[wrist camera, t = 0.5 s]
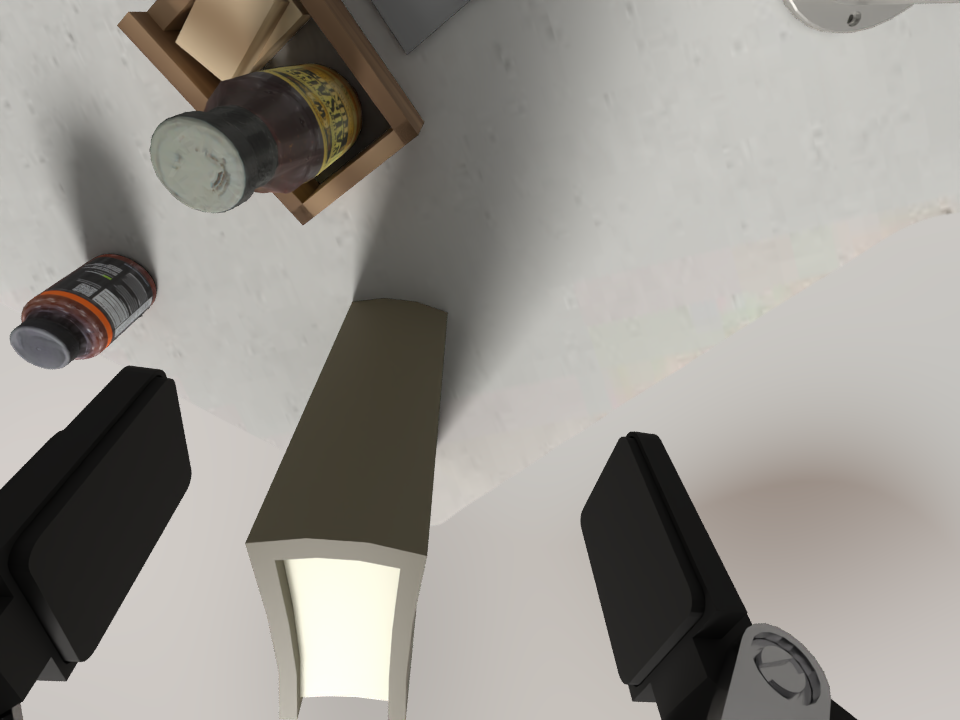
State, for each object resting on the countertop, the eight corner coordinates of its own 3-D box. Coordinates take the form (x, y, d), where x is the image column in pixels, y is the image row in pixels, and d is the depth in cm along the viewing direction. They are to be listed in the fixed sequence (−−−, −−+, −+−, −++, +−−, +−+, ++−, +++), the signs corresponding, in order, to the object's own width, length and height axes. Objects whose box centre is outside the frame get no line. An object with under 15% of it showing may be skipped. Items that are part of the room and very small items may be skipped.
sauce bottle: (380, 133, 38) (311, 221, 22) (313, 164, 39) (201, 269, 23) (335, 40, 34) (214, 64, 18) (263, 78, 36) (89, 131, 19)
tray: (271, -102, 30) (239, -120, 26) (424, 122, 37) (418, 134, 33) (160, 23, 34) (117, 25, 30) (319, 204, 41) (303, 225, 37)
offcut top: (240, -45, 29) (220, -51, 27) (289, 2, 31) (274, 1, 28) (197, 40, 32) (175, 42, 29) (245, 80, 33) (227, 85, 31)
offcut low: (269, -46, 32) (252, -51, 29) (314, 14, 34) (302, 14, 31) (204, 29, 34) (183, 30, 32) (250, 81, 36) (233, 86, 34)
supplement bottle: (107, 308, 47) (17, 379, 38) (79, 250, 43) (-27, 314, 34) (169, 309, 47) (95, 381, 38) (146, 252, 43) (58, 316, 34)
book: (353, 291, 47) (238, 544, 24) (448, 302, 48) (427, 557, 24) (354, 448, 59) (279, 718, 36) (430, 455, 60) (405, 723, 36)
